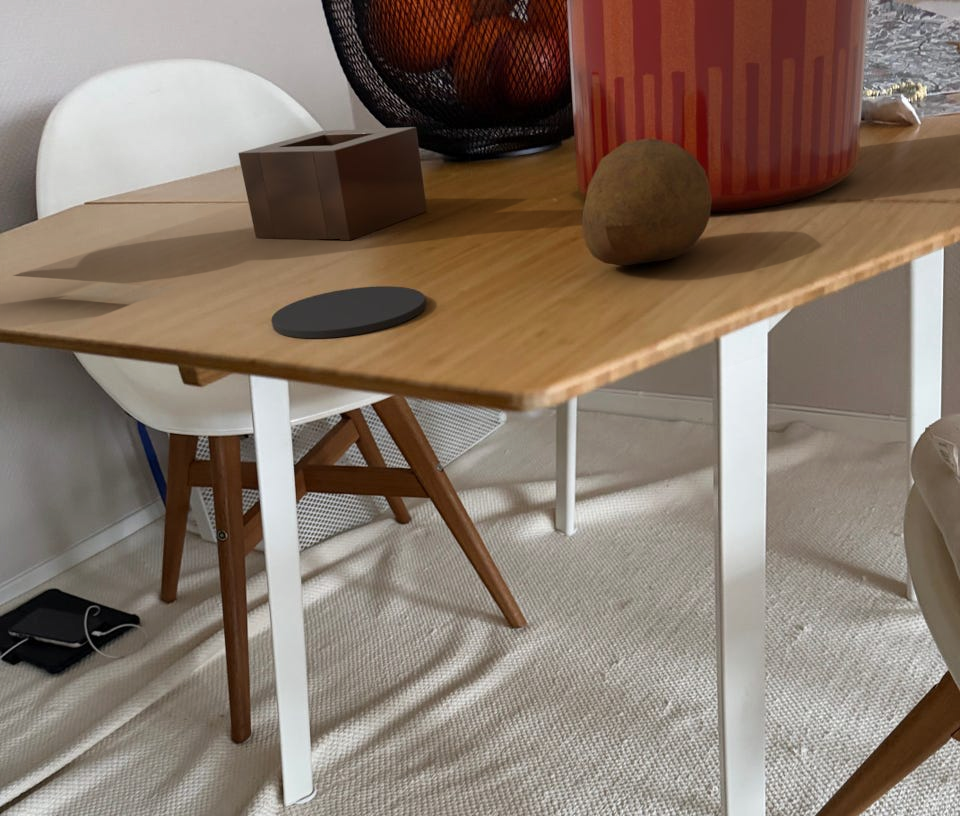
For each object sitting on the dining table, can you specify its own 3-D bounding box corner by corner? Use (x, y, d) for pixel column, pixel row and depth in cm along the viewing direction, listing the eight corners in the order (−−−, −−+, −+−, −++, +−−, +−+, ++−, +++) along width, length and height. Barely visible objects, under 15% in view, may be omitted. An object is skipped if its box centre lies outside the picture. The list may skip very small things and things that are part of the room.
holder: (255, 237, 97) (237, 152, 93) (335, 210, 104) (322, 130, 101) (349, 240, 91) (334, 150, 88) (427, 211, 99) (416, 127, 95)
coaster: (240, 332, 70) (238, 324, 70) (341, 290, 77) (339, 283, 76) (360, 343, 65) (358, 335, 64) (456, 297, 71) (455, 289, 71)
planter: (591, 232, 83) (574, -83, 73) (568, 182, 103) (551, -72, 92) (896, 197, 82) (923, -129, 72) (814, 153, 102) (826, -108, 91)
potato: (728, 239, 77) (729, 119, 73) (689, 288, 67) (688, 152, 63) (616, 242, 80) (611, 127, 76) (564, 289, 70) (555, 160, 66)
